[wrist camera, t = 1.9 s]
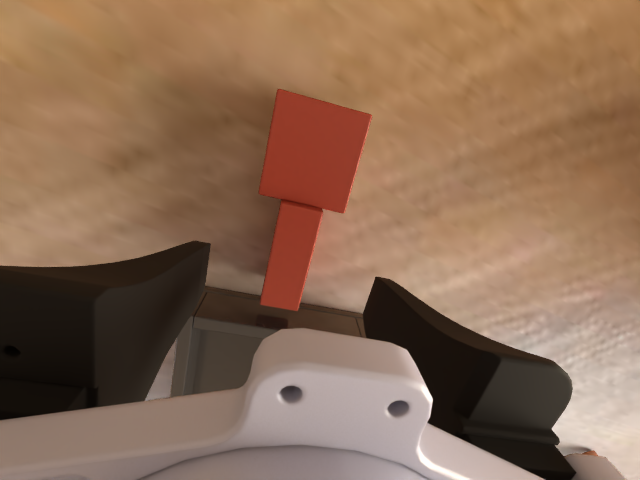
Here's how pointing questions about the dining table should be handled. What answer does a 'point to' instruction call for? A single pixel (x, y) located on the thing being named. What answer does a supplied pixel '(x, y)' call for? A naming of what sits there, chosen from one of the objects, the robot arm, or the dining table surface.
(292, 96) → the brush
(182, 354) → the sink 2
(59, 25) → the dining table surface
